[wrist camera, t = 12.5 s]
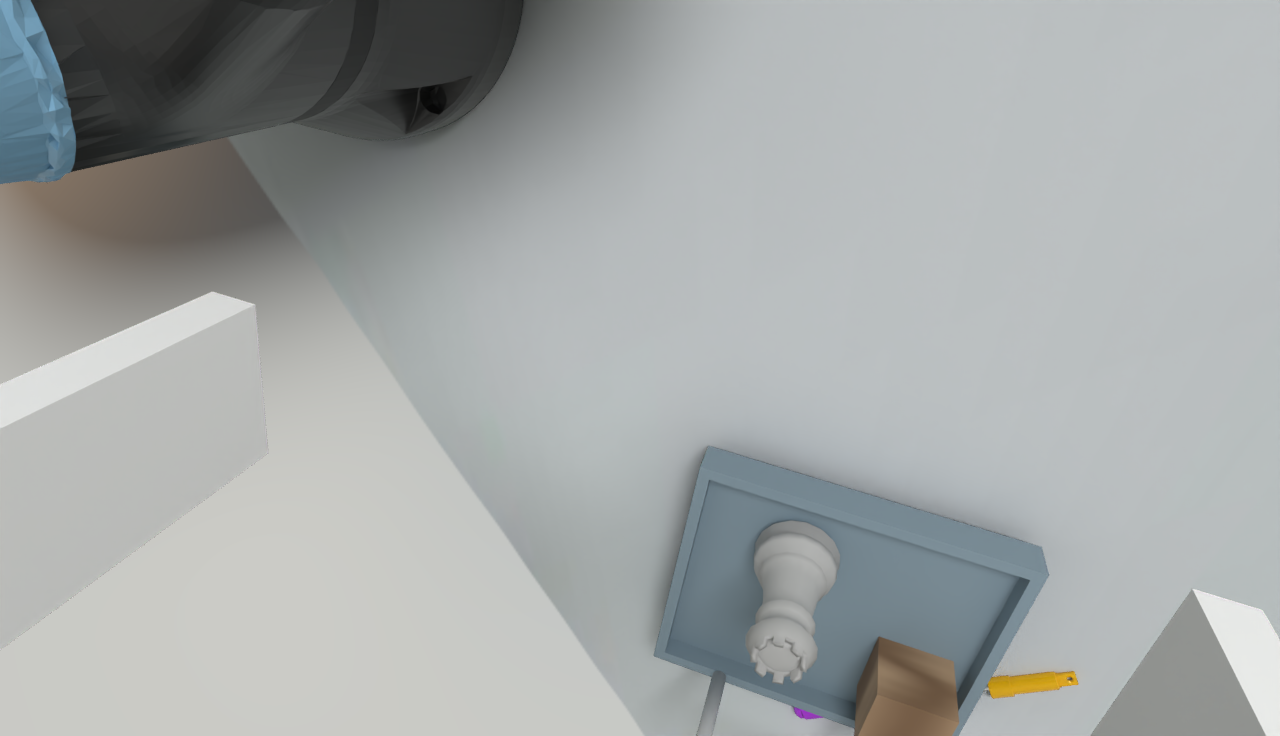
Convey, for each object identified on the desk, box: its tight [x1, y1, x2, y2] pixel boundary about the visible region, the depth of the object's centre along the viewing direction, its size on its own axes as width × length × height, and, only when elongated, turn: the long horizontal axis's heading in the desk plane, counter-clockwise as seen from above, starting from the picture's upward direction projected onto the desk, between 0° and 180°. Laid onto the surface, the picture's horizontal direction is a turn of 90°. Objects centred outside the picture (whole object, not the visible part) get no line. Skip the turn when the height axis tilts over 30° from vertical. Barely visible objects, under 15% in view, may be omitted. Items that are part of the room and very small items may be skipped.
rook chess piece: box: [746, 520, 840, 685], centre depth 37 cm, size 4×4×8 cm
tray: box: [654, 446, 1049, 736], centre depth 39 cm, size 14×17×10 cm
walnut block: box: [854, 636, 959, 736], centre depth 40 cm, size 4×4×4 cm
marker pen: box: [794, 671, 1078, 719], centre depth 44 cm, size 3×1×16 cm
